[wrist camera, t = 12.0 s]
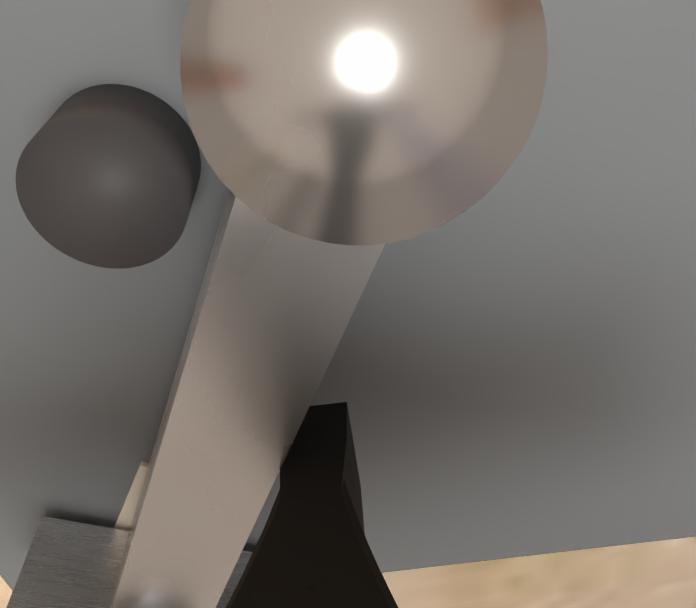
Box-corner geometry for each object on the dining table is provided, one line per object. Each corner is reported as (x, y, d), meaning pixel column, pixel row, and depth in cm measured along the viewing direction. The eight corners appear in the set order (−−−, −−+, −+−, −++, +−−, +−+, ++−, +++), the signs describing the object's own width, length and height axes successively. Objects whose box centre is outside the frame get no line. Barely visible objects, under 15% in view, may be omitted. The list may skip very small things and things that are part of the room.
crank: (168, -238, 6) (45, -295, 3) (600, -42, 8) (788, 44, 5) (35, 559, 14) (-39, 759, 11) (262, 593, 15) (251, 782, 12)
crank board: (930, -280, 7) (1146, -317, 6) (695, 490, 16) (749, 582, 14) (-405, -76, 8) (-631, -42, 6) (46, 566, 16) (11, 666, 14)
